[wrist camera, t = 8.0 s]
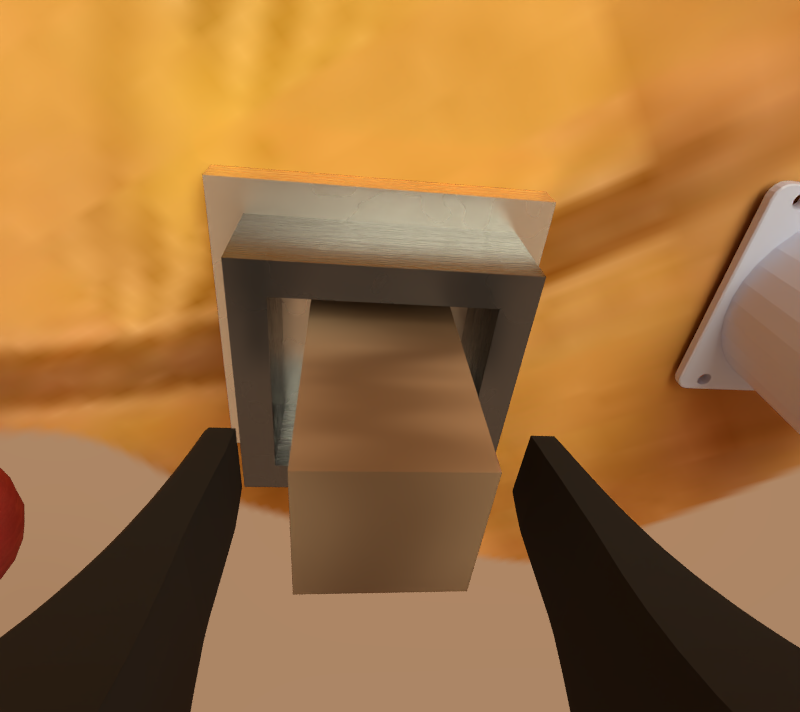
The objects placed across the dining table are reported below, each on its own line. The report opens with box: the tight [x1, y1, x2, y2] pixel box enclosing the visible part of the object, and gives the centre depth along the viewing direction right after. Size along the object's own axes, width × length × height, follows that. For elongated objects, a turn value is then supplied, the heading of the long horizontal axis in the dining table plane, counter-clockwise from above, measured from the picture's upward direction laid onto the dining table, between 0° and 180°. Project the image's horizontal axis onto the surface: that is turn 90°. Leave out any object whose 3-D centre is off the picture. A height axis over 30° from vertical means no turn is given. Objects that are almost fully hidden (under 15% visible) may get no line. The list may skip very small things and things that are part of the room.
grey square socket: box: [203, 165, 556, 487], centre depth 17 cm, size 10×10×4 cm
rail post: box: [288, 299, 502, 594], centre depth 14 cm, size 4×4×8 cm
